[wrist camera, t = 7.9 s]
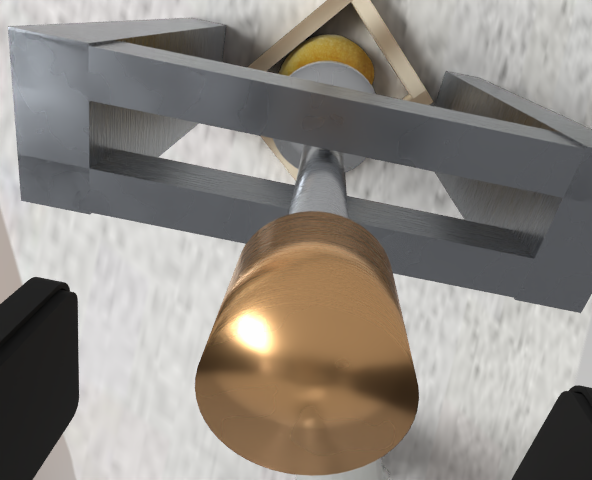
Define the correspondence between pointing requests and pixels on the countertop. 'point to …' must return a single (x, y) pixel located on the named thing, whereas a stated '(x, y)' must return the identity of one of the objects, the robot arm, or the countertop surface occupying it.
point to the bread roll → (329, 55)
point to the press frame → (308, 131)
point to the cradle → (378, 32)
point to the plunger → (311, 329)
